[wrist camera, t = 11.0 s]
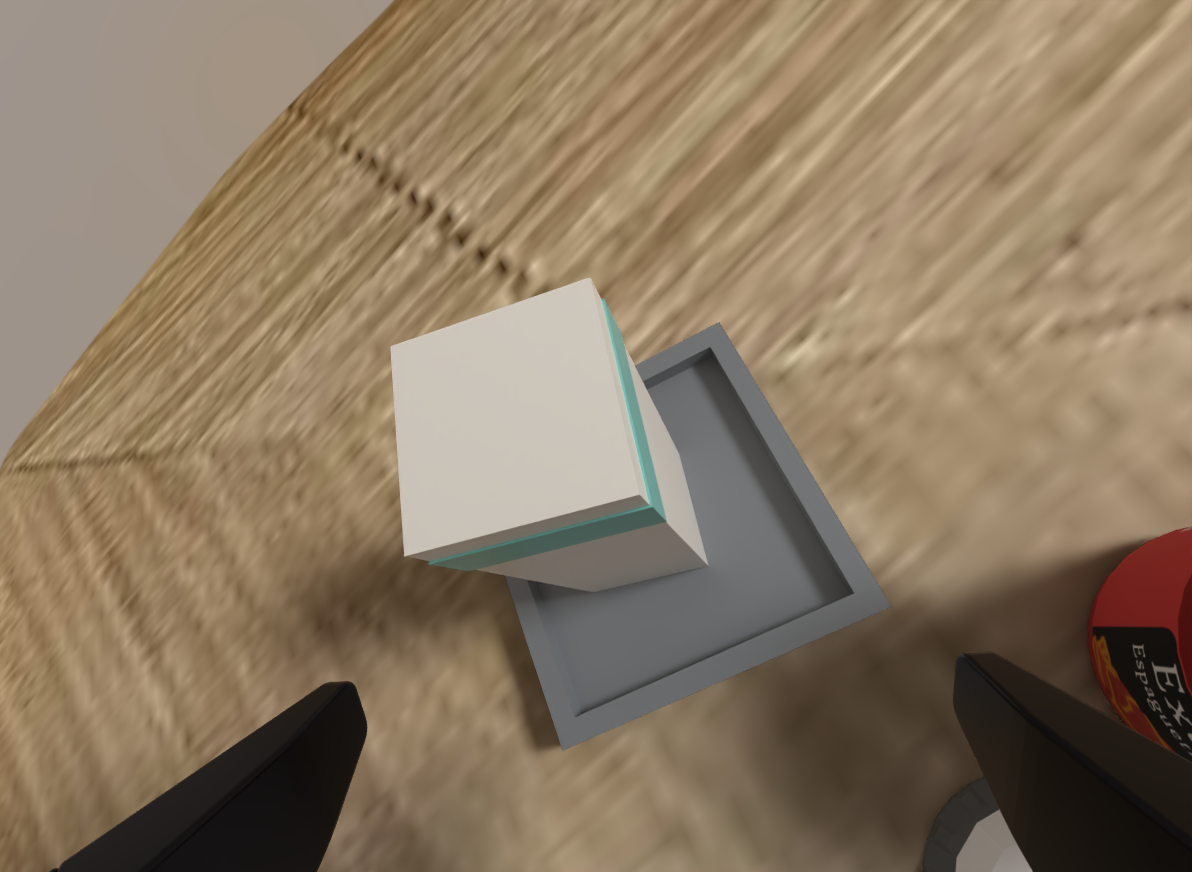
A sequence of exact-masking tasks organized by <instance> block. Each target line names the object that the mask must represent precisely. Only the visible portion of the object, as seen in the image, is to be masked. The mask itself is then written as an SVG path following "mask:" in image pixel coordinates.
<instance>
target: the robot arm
mask: <svg viewBox="0 0 1192 872" xmlns="http://www.w3.org/2000/svg"><path fill="white" fill-rule="evenodd" d="M953 705H954V710H955V713H956V716H957V719H958V721H959V723H960V725H961V727H962V730H963V732H964V734H965V736H966V738H967V740H968V743H969V745H970V747H971V749H972V751H973V753H974V756H975V758H976V760H977V762H978V764H979V766H980V768H981V771H982V773H983V775H984V777H985V779H986V781H987V784H988V786H989V788H990V790H991V792H992V794H993V796H994V799H995V801H996V803H997V805H998V807H999V809H1000V812H1001V814H1002V816H1003V818H1004V820H1005V822H1006V824H1007V826H1008V828H1009V830H1010V832H1011V834H1012V836H1013V838H1014V840H1015V841H1016V843H1017V845H1018V847H1019V849H1020V850H1021V852H1022V854H1023V856H1024V857H1025V859H1026V861H1027V863H1028V864H1029V866H1030V868H1031V869H1032V871H1033V872H1192V762H1190V761H1188V760H1187V759H1185V758H1183V757H1181V756H1179V755H1178V754H1176V753H1174V752H1172V751H1170V750H1169V749H1167V748H1165V747H1163V746H1161V745H1160V744H1158V743H1156V742H1154V741H1152V740H1151V739H1149V738H1147V737H1145V736H1143V735H1142V734H1140V733H1138V732H1136V731H1134V730H1133V729H1131V728H1129V727H1127V726H1125V725H1124V724H1122V723H1120V722H1118V721H1116V720H1115V719H1113V718H1111V717H1109V716H1107V715H1106V714H1104V713H1102V712H1100V711H1098V710H1097V709H1095V708H1093V707H1091V706H1089V705H1088V704H1086V703H1084V702H1082V701H1080V700H1079V699H1077V698H1075V697H1073V696H1071V695H1070V694H1068V693H1066V692H1064V691H1062V690H1061V689H1059V688H1057V687H1055V686H1053V685H1052V684H1050V683H1048V682H1046V681H1044V680H1043V679H1041V678H1039V677H1037V676H1035V675H1034V674H1032V673H1030V672H1028V671H1026V670H1025V669H1023V668H1021V667H1019V666H1017V665H1016V664H1014V663H1012V662H1010V661H1008V660H1007V659H1005V658H1003V657H1001V656H999V655H998V654H995V653H993V652H990V651H979V652H963V653H961V654H959V655H958V657H957V659H956V666H955V679H954V692H953ZM366 735H367V720H366V717H365V714H364V711H363V708H362V704H361V701H360V698H359V695H358V692H357V689H356V687H355V685H354V684H353V683H352V682H349V681H343V682H328V683H325V684H323V685H322V686H320V687H319V688H317V689H316V690H314V691H313V692H311V693H310V694H308V695H307V696H305V697H304V698H303V699H301V700H300V701H298V702H297V703H295V704H294V705H292V706H291V707H289V708H288V709H286V710H285V711H283V712H282V713H281V714H279V715H278V716H276V717H275V718H273V719H272V720H270V721H269V722H267V723H266V724H264V725H263V726H262V727H260V728H259V729H257V730H256V731H254V732H253V733H251V734H250V735H248V736H247V737H245V738H244V739H243V740H241V741H240V742H238V743H237V744H235V745H234V746H232V747H231V748H229V749H228V750H226V751H225V752H224V753H222V754H221V755H219V756H218V757H216V758H215V759H213V760H212V761H210V762H209V763H207V764H206V765H205V766H203V767H202V768H200V769H199V770H197V771H196V772H194V773H193V774H191V775H190V776H188V777H187V778H186V779H184V780H183V781H181V782H180V783H178V784H177V785H175V786H174V787H172V788H171V789H169V790H168V791H167V792H165V793H164V794H162V795H161V796H159V797H158V798H156V799H155V800H153V801H152V802H150V803H149V804H147V805H146V806H145V807H143V808H142V809H140V810H139V811H137V812H136V813H134V814H133V815H131V816H130V817H128V818H127V819H126V820H124V821H123V822H121V823H120V824H118V825H117V826H115V827H114V828H112V829H111V830H109V831H108V832H107V833H105V834H104V835H102V836H101V837H99V838H98V839H96V840H95V841H93V842H92V843H90V844H89V845H88V846H86V847H85V848H83V849H82V850H80V851H79V852H77V853H76V854H74V855H73V856H71V857H70V858H69V859H67V860H66V861H64V862H63V863H62V864H61V865H60V867H59V868H54V869H52V870H51V871H49V872H317V871H318V868H319V866H320V864H321V862H322V859H323V857H324V855H325V852H326V850H327V847H328V845H329V843H330V840H331V837H332V835H333V832H334V829H335V827H336V824H337V821H338V818H339V815H340V812H341V809H342V807H343V804H344V801H345V798H346V795H347V792H348V789H349V786H350V783H351V780H352V777H353V774H354V772H355V769H356V766H357V763H358V760H359V757H360V754H361V751H362V748H363V745H364V742H365V739H366Z"/></svg>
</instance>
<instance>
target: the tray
mask: <svg viewBox="0 0 1192 872" xmlns="http://www.w3.org/2000/svg"><path fill="white" fill-rule="evenodd" d="M635 367H636V369H637V371H638V373H639V375H640V377H641V379H642V381H643V383H644V385H645V387H646V389H647V391H648V393H649V395H650V397H651V399H652V401H653V403H654V405H655V407H656V409H657V411H658V413H659V415H660V417H661V419H662V421H663V423H664V425H665V427H666V429H667V431H668V433H669V435H670V437H671V439H672V441H673V443H674V445H675V447H676V449H677V451H678V453H679V455H680V459H681V463H682V467H683V471H684V475H685V478H686V482H687V486H688V490H689V494H690V497H691V501H692V505H693V509H694V513H695V517H696V520H697V524H698V528H699V532H700V536H701V539H702V543H703V547H704V551H705V555H706V559H707V562H708V566H705V567H701V568H697V569H693V570H688V571H684V572H680V573H675V574H671V575H667V576H662V577H658V578H654V579H649V580H645V581H641V582H636V583H632V584H628V585H623V586H619V587H615V588H610V589H606V590H602V591H597V592H590V591H584V590H579V589H574V588H569V587H563V586H558V585H553V584H547V583H542V582H537V581H532V580H526V579H521V578H516V577H510V576H505V578H506V581H507V584H508V587H509V590H510V593H511V596H512V599H513V602H514V605H515V608H516V611H517V614H518V617H519V620H520V623H521V626H522V629H523V633H524V636H525V639H526V642H527V645H528V648H529V651H530V654H531V657H532V660H533V663H534V666H535V669H536V672H537V675H538V678H539V681H540V684H541V687H542V690H543V693H544V696H545V699H546V702H547V705H548V708H549V711H550V714H551V717H552V720H553V723H554V726H555V729H556V732H557V735H558V738H559V741H560V744H561V747H562V750H565V749H567V748H570V747H572V746H574V745H577V744H579V743H581V742H583V741H586V740H588V739H590V738H593V737H595V736H597V735H599V734H602V733H604V732H606V731H609V730H611V729H613V728H615V727H618V726H620V725H622V724H625V723H627V722H629V721H631V720H634V719H636V718H638V717H641V716H643V715H645V714H647V713H650V712H652V711H654V710H657V709H659V708H661V707H663V706H666V705H668V704H670V703H673V702H675V701H677V700H679V699H682V698H684V697H686V696H689V695H691V694H693V693H695V692H698V691H700V690H702V689H705V688H707V687H709V686H711V685H714V684H716V683H718V682H721V681H723V680H725V679H727V678H730V677H732V676H734V675H737V674H739V673H741V672H743V671H746V670H748V669H750V668H753V667H755V666H757V665H759V664H762V663H764V662H766V661H769V660H771V659H773V658H775V657H778V656H780V655H782V654H785V653H787V652H789V651H791V650H794V649H796V648H798V647H801V646H803V645H805V644H807V643H810V642H812V641H814V640H817V639H819V638H821V637H823V636H826V635H828V634H830V633H833V632H835V631H837V630H839V629H842V628H844V627H846V626H849V625H851V624H853V623H855V622H858V621H860V620H862V619H865V618H867V617H869V616H871V615H874V614H876V613H878V612H881V611H883V610H885V609H887V608H890V607H892V606H891V604H890V603H889V601H888V599H887V598H886V596H885V595H884V593H883V591H882V590H881V588H880V586H879V585H878V583H877V581H876V580H875V578H874V576H873V575H872V573H871V571H870V570H869V568H868V566H867V565H866V563H865V562H864V560H863V558H862V557H861V555H860V553H859V552H858V550H857V548H856V547H855V545H854V543H853V542H852V540H851V538H850V537H849V535H848V534H847V532H846V530H845V529H844V527H843V525H842V524H841V522H840V520H839V519H838V517H837V515H836V514H835V512H834V510H833V509H832V507H831V505H830V504H829V502H828V501H827V499H826V497H825V496H824V494H823V492H822V491H821V489H820V487H819V486H818V484H817V482H816V481H815V479H814V477H813V476H812V474H811V472H810V471H809V469H808V468H807V466H806V464H805V463H804V461H803V459H802V458H801V456H800V454H799V453H798V451H797V449H796V448H795V446H794V444H793V443H792V441H791V440H790V438H789V436H788V435H787V433H786V431H785V430H784V428H783V426H782V425H781V423H780V421H779V420H778V418H777V416H776V415H775V413H774V411H773V410H772V408H771V407H770V405H769V403H768V402H767V400H766V398H765V397H764V395H763V393H762V392H761V390H760V388H759V387H758V385H757V383H756V382H755V380H754V378H753V377H752V375H751V374H750V372H749V370H748V369H747V367H746V365H745V364H744V362H743V360H742V359H741V357H740V355H739V354H738V352H737V350H736V349H735V347H734V346H733V344H732V342H731V341H730V339H729V337H728V336H727V334H726V332H725V331H724V329H723V327H722V326H721V324H720V322H719V323H717V324H715V325H713V326H711V327H709V328H707V329H705V330H703V331H701V332H699V333H697V334H695V335H693V336H692V337H690V338H688V339H686V340H684V341H682V342H680V343H678V344H676V345H674V346H672V347H670V348H668V349H666V350H665V351H663V352H661V353H659V354H657V355H655V356H653V357H651V358H649V359H647V360H645V361H643V362H641V363H639V364H638V365H636V366H635Z"/></svg>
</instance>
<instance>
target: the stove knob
mask: <svg viewBox="0 0 1192 872" xmlns="http://www.w3.org/2000/svg"><path fill="white" fill-rule="evenodd" d="M923 872H1033V871H1032V869H1031V868H1030V866H1029V864H1028V863H1027V861H1026V859H1025V857H1024V856H1023V854H1022V852H1021V850H1020V849H1019V847H1018V845H1017V843H1016V841H1015V840H1014V838H1013V836H1012V834H1011V832H1010V830H1009V828H1008V826H1007V824H1006V822H1005V820H1004V818H1003V816H1002V814H1001V812H1000V809H999V807H998V805H997V803H996V801H995V799H994V796H993V794H992V792H991V790H990V788H989V786H988V784H987V781H986V779H985V777H984V778H981V779H979V780H977V781H975V782H972V783H970V784H969V785H967V786H966V787H965V788H963V789H962V790H961V791H960V792H958V793H957V794H956V795H954V796H953V797H952V798H951V799H950V800H949V802H948V803H947V804H946V805H945V807H944V808H943V809H942V811H941V812H940V813H939V815H938V816H937V818H936V820H935V823H934V825H933V827H932V829H931V832H930V834H929V836H928V839H927V844H926V850H925V855H924V860H923Z"/></svg>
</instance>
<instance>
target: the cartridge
mask: <svg viewBox="0 0 1192 872" xmlns="http://www.w3.org/2000/svg"><path fill="white" fill-rule="evenodd" d="M391 361H392V376H393V392H394V407H395V422H396V437H397V453H398V468H399V483H400V498H401V514H402V529H403V544H404V556H405V557H410V558H416V559H421V560H426V561H429V565H434V566H440V567H446V568H451V569H457V570H462V571H472V570H479V571H484V572H489V573H495V574H500V575H505V576H510V577H516V578H521V579H526V580H532V581H537V582H542V583H547V584H553V585H558V586H563V587H569V588H574V589H579V590H584V591H590V592H597V591H602V590H606V589H610V588H615V587H619V586H623V585H628V584H632V583H636V582H641V581H645V580H649V579H654V578H658V577H662V576H667V575H671V574H675V573H680V572H684V571H688V570H693V569H697V568H701V567H705V566H708V562H707V559H706V555H705V551H704V547H703V543H702V539H701V536H700V532H699V528H698V524H697V520H696V517H695V513H694V509H693V505H692V501H691V497H690V494H689V490H688V486H687V482H686V478H685V475H684V471H683V467H682V463H681V459H680V455H679V453H678V451H677V449H676V447H675V445H674V443H673V441H672V439H671V437H670V435H669V433H668V431H667V429H666V427H665V425H664V423H663V421H662V419H661V417H660V415H659V413H658V411H657V409H656V407H655V405H654V403H653V401H652V399H651V397H650V395H649V393H648V391H647V389H646V387H645V385H644V383H643V381H642V379H641V377H640V375H639V373H638V371H637V369H636V367H635V365H634V363H633V361H632V359H631V357H630V356H629V354H628V352H627V350H626V348H625V346H624V342H623V338H622V334H621V332H620V330H619V328H618V326H617V324H616V322H615V320H614V318H613V316H612V314H611V312H610V310H609V308H608V306H607V304H606V302H605V300H604V299H601V298H600V296H599V294H598V292H597V290H596V288H595V286H594V284H593V282H592V280H591V278H587V279H584V280H581V281H578V282H575V283H572V284H569V285H566V286H564V287H561V288H558V289H555V290H552V291H549V292H546V293H543V294H540V295H538V296H535V297H532V298H529V299H526V300H523V301H520V302H517V303H514V304H512V305H509V306H506V307H503V308H500V309H497V310H494V311H491V312H488V313H486V314H483V315H480V316H477V317H474V318H471V319H468V320H465V321H463V322H460V323H457V324H454V325H451V326H448V327H445V328H442V329H439V330H437V331H434V332H431V333H428V334H425V335H422V336H419V337H416V338H413V339H411V340H408V341H405V342H402V343H399V344H396V345H393V346H391Z"/></svg>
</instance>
